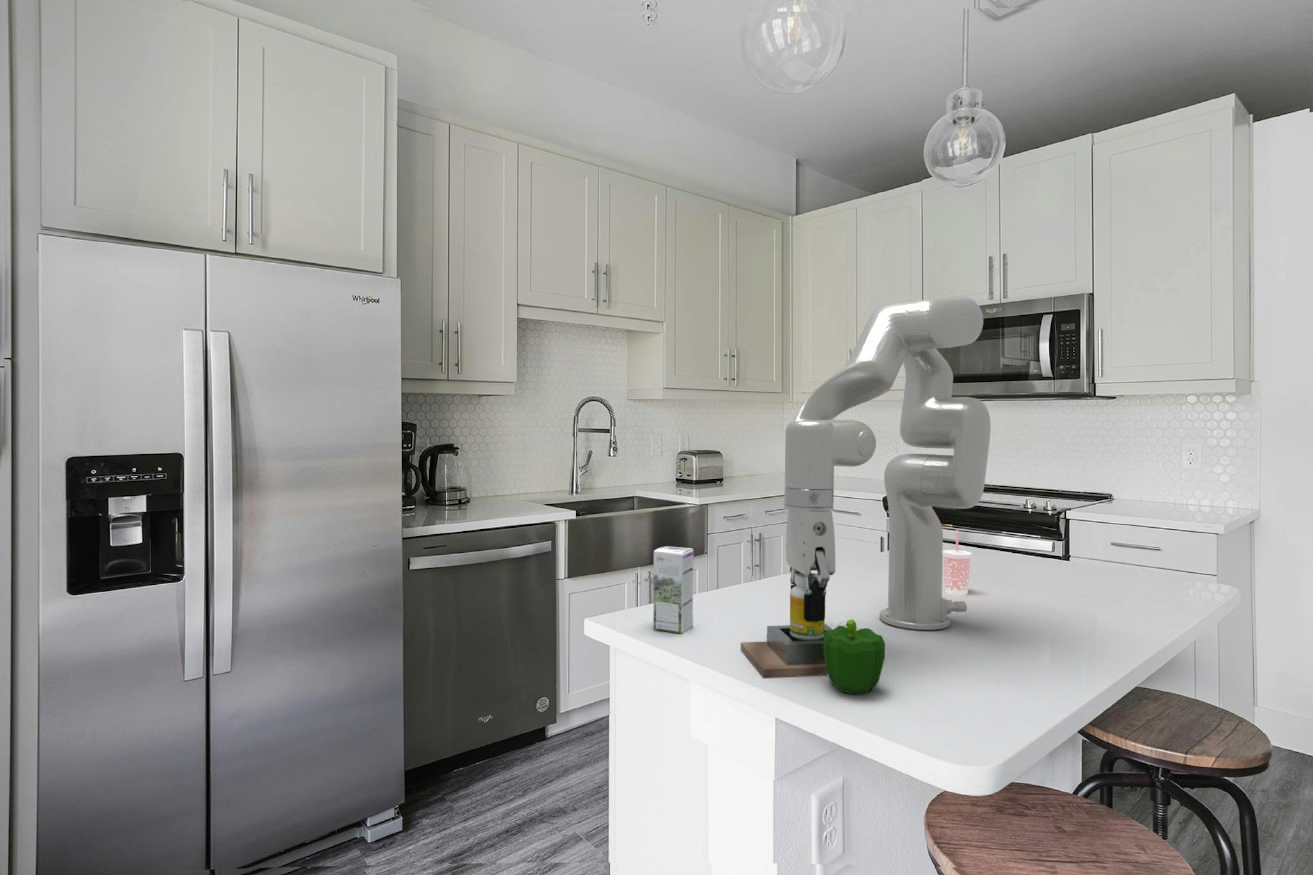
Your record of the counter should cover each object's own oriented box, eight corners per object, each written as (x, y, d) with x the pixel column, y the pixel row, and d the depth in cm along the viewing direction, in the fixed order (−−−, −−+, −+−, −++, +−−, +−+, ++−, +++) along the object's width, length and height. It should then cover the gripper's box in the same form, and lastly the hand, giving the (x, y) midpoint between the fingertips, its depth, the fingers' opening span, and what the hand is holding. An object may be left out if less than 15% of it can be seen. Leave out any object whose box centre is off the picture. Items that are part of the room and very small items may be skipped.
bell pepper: (844, 673, 106) (845, 606, 106) (894, 688, 100) (895, 617, 100) (809, 686, 101) (810, 616, 100) (860, 703, 94) (861, 628, 94)
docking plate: (845, 645, 119) (845, 638, 119) (880, 672, 106) (880, 664, 106) (740, 649, 117) (740, 642, 117) (763, 677, 104) (763, 669, 104)
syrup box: (693, 626, 130) (694, 547, 130) (681, 634, 125) (682, 552, 125) (665, 622, 133) (666, 544, 133) (652, 630, 127) (652, 549, 127)
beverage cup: (935, 590, 160) (936, 528, 160) (959, 588, 162) (960, 527, 161) (953, 596, 154) (954, 532, 154) (977, 595, 156) (978, 531, 156)
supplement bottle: (806, 629, 115) (807, 570, 115) (831, 637, 111) (832, 576, 111) (782, 634, 112) (783, 573, 112) (807, 643, 108) (807, 579, 108)
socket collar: (825, 642, 117) (825, 623, 117) (850, 662, 107) (850, 642, 107) (767, 644, 116) (767, 626, 116) (786, 664, 106) (786, 644, 106)
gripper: (854, 505, 103) (852, 629, 103) (812, 494, 120) (810, 601, 120) (804, 505, 102) (802, 631, 102) (769, 494, 119) (767, 602, 119)
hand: (807, 613), depth 111 cm, fingers closed on supplement bottle, 5 cm apart
